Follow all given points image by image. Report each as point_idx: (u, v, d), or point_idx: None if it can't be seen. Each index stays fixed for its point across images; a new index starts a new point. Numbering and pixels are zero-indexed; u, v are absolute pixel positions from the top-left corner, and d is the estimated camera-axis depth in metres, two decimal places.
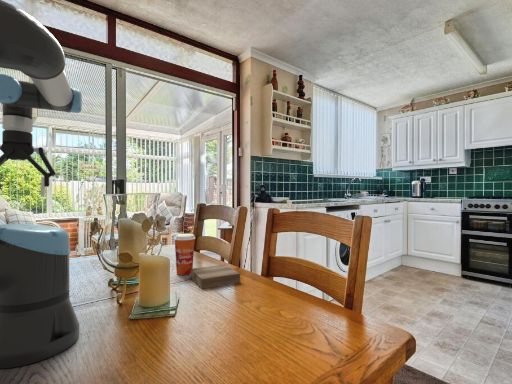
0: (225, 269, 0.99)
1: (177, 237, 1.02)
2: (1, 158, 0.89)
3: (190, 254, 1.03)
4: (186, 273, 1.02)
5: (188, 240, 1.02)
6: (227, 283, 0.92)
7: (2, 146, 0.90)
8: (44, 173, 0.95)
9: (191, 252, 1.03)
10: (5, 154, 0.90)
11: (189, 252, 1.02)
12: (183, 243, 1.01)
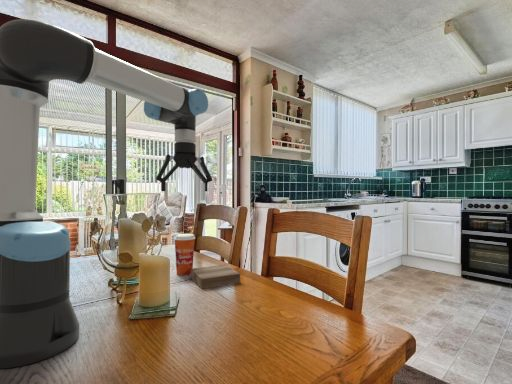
0: (225, 269, 0.99)
1: (177, 237, 1.02)
2: (175, 167, 1.02)
3: (190, 254, 1.03)
4: (186, 273, 1.02)
5: (188, 240, 1.02)
6: (227, 283, 0.92)
7: (175, 156, 1.02)
8: (205, 179, 1.07)
9: (191, 252, 1.03)
10: (178, 163, 1.02)
11: (189, 252, 1.02)
12: (183, 243, 1.01)
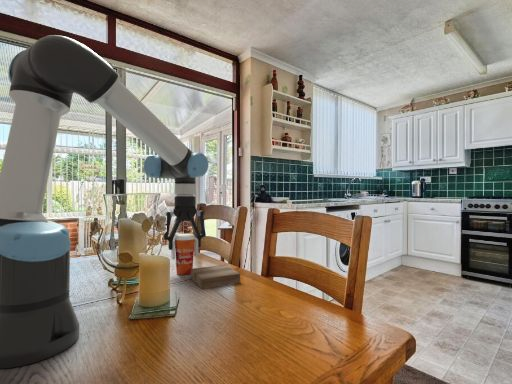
0: (225, 269, 0.99)
1: (177, 237, 1.02)
2: (178, 222, 1.02)
3: (190, 254, 1.03)
4: (186, 273, 1.02)
5: (188, 240, 1.02)
6: (227, 283, 0.92)
7: (175, 210, 1.02)
8: (198, 235, 1.06)
9: (191, 252, 1.03)
10: (180, 218, 1.02)
11: (189, 252, 1.02)
12: (183, 243, 1.01)
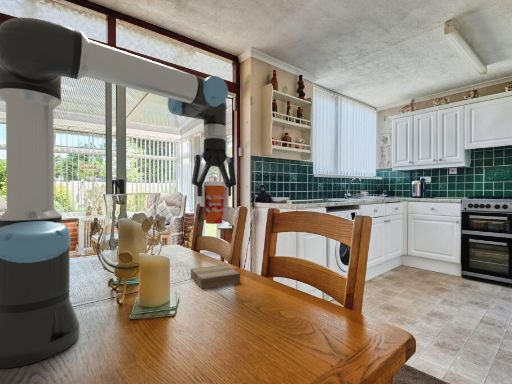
0: (225, 269, 0.99)
1: (207, 182, 0.94)
2: (208, 167, 0.94)
3: (221, 202, 0.95)
4: (216, 222, 0.94)
5: (219, 186, 0.94)
6: (227, 283, 0.92)
7: (205, 154, 0.94)
8: (229, 183, 0.98)
9: (222, 199, 0.95)
10: (210, 162, 0.94)
11: (219, 199, 0.94)
12: (213, 188, 0.93)
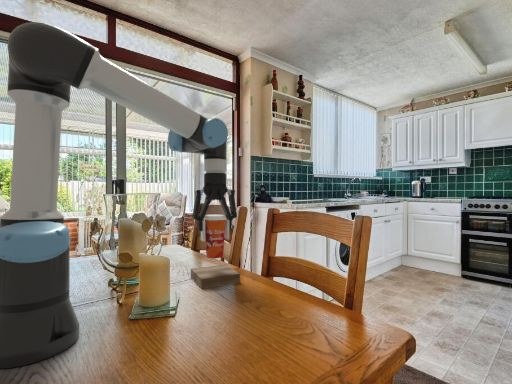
0: (225, 269, 0.99)
1: (207, 217, 0.94)
2: (208, 201, 0.94)
3: (222, 236, 0.95)
4: (217, 256, 0.94)
5: (220, 220, 0.94)
6: (227, 283, 0.92)
7: (205, 188, 0.94)
8: (229, 216, 0.98)
9: (222, 233, 0.95)
10: (210, 196, 0.94)
11: (220, 233, 0.94)
12: (214, 223, 0.93)
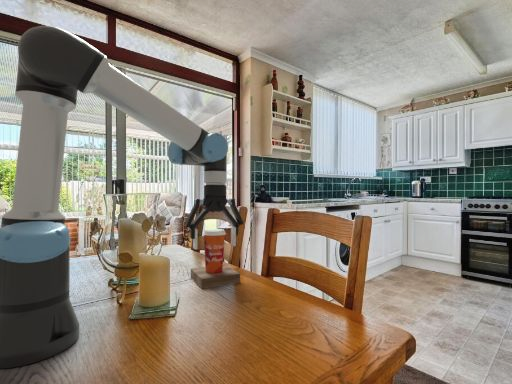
0: (225, 269, 0.99)
1: (207, 232, 0.93)
2: (205, 211, 0.93)
3: (221, 251, 0.94)
4: (216, 271, 0.94)
5: (219, 235, 0.94)
6: (227, 283, 0.92)
7: (205, 200, 0.94)
8: (236, 223, 0.99)
9: (222, 248, 0.95)
10: (209, 207, 0.94)
11: (219, 248, 0.94)
12: (213, 238, 0.93)
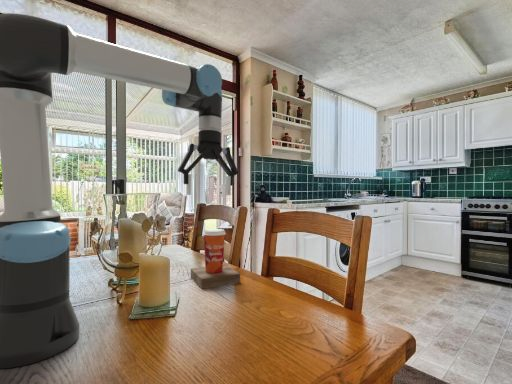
0: (225, 269, 0.99)
1: (207, 232, 0.93)
2: (200, 157, 0.92)
3: (221, 251, 0.94)
4: (216, 271, 0.94)
5: (219, 235, 0.94)
6: (227, 283, 0.92)
7: (200, 145, 0.92)
8: (230, 172, 0.97)
9: (222, 248, 0.95)
10: (203, 153, 0.92)
11: (219, 248, 0.94)
12: (213, 238, 0.93)
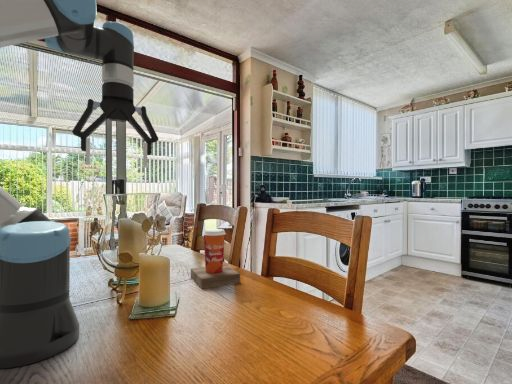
0: (225, 269, 0.99)
1: (207, 232, 0.93)
2: (102, 117, 0.72)
3: (221, 251, 0.94)
4: (216, 271, 0.94)
5: (219, 235, 0.94)
6: (227, 283, 0.92)
7: (102, 102, 0.73)
8: (147, 138, 0.78)
9: (222, 248, 0.95)
10: (106, 112, 0.73)
11: (219, 248, 0.94)
12: (213, 238, 0.93)
